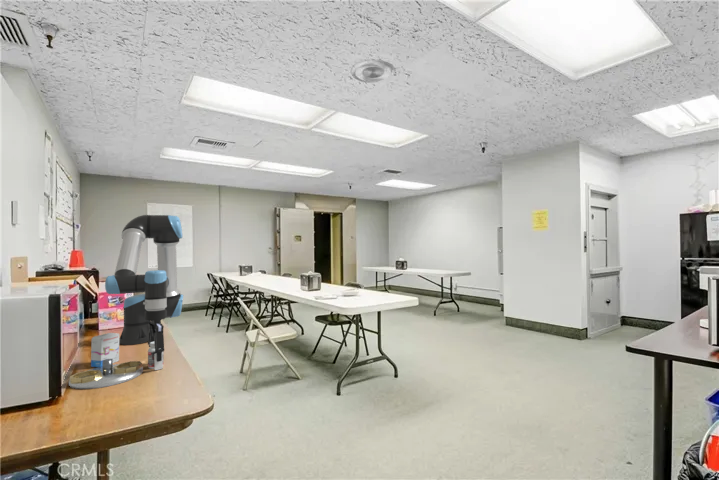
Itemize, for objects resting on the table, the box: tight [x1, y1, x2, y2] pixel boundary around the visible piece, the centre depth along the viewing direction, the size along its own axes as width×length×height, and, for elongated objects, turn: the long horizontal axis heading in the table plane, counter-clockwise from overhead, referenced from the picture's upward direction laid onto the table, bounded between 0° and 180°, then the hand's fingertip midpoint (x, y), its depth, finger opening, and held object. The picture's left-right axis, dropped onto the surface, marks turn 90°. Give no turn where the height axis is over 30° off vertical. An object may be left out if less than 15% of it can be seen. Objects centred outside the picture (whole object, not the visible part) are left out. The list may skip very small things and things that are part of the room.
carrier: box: [68, 359, 144, 390], centre depth 128 cm, size 22×22×6 cm
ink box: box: [90, 332, 120, 368], centre depth 142 cm, size 9×5×12 cm, turn 168°
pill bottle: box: [147, 342, 165, 370], centre depth 138 cm, size 5×5×10 cm
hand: (155, 366), depth 138 cm, fingers open, 9 cm apart
